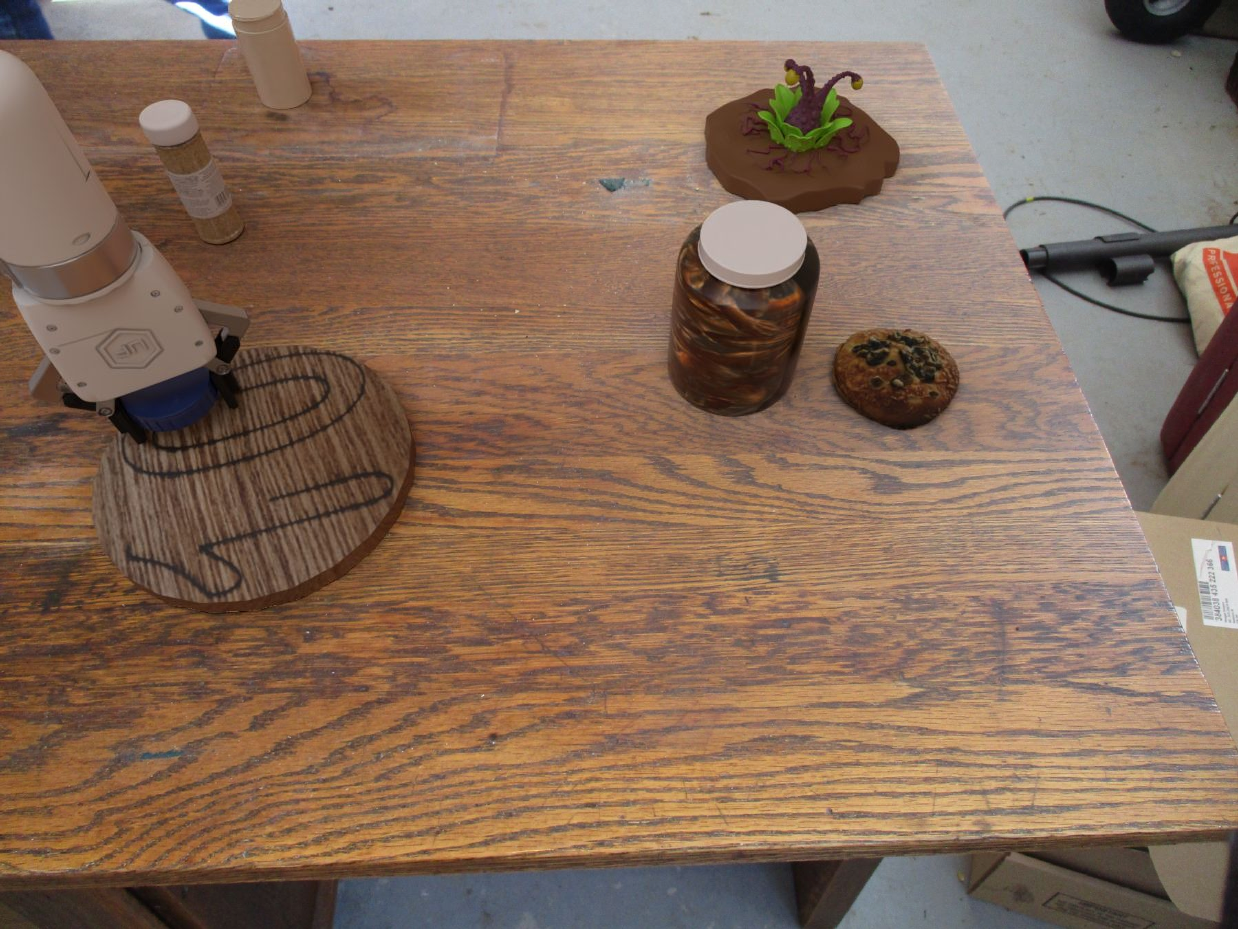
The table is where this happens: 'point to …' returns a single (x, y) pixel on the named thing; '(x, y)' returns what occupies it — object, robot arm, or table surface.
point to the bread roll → (895, 376)
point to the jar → (741, 307)
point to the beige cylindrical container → (270, 52)
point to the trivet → (259, 485)
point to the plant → (799, 145)
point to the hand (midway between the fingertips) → (185, 412)
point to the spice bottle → (192, 169)
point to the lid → (172, 401)
